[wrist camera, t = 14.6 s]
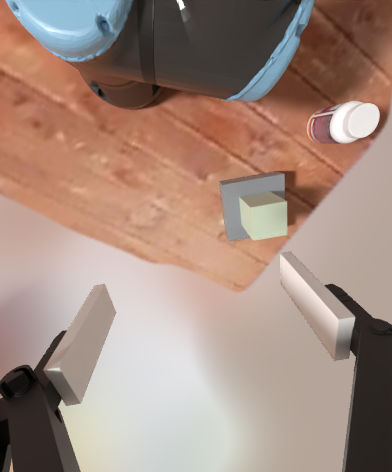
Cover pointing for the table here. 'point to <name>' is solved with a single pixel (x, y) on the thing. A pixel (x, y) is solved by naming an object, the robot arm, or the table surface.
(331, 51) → the table surface
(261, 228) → the sage block
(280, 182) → the slate block
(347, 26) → the table surface
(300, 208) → the table surface
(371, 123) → the pill bottle
